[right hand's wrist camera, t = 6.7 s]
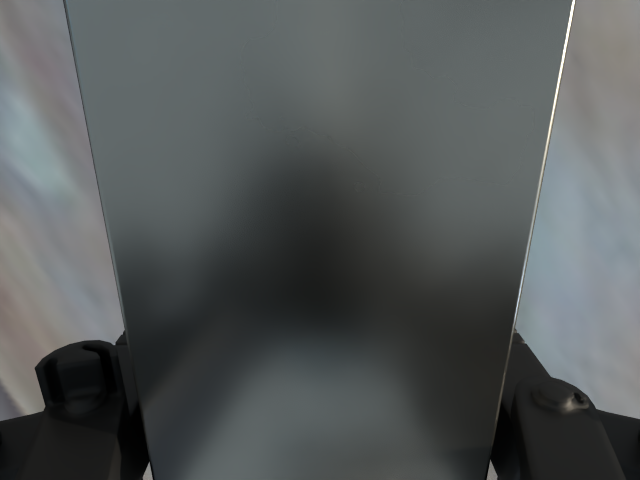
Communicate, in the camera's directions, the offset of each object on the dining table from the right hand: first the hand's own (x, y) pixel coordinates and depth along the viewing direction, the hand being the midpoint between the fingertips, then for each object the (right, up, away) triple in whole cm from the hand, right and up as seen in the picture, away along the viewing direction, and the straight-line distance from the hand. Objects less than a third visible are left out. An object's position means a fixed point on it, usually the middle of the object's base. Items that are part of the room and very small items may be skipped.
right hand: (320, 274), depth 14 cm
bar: (0, +9, -3) cm, 10 cm away
